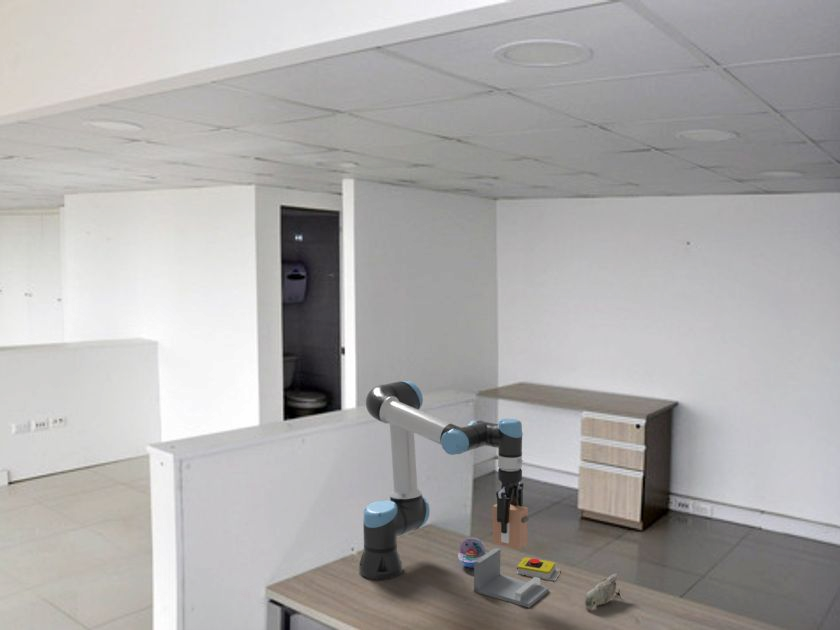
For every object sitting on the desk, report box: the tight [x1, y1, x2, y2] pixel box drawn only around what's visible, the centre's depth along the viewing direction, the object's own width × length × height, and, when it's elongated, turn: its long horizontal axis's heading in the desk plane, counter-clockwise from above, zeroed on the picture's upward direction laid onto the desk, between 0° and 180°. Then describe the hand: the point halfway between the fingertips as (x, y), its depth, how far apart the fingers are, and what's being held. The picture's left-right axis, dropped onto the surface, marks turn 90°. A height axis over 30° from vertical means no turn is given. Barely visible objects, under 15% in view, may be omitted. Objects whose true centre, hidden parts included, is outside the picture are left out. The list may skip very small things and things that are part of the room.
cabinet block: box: [492, 503, 529, 550], centre depth 233 cm, size 11×5×12 cm, turn 53°
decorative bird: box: [584, 573, 622, 612], centre depth 231 cm, size 5×16×7 cm, turn 133°
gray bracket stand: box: [473, 547, 549, 608], centre depth 239 cm, size 20×14×10 cm
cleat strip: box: [515, 577, 541, 601], centre depth 236 cm, size 2×14×2 cm, turn 145°
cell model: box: [457, 537, 488, 569], centre depth 259 cm, size 10×12×10 cm
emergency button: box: [517, 556, 561, 581], centre depth 254 cm, size 9×4×15 cm
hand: (509, 539), depth 234 cm, fingers closed on cabinet block, 5 cm apart
